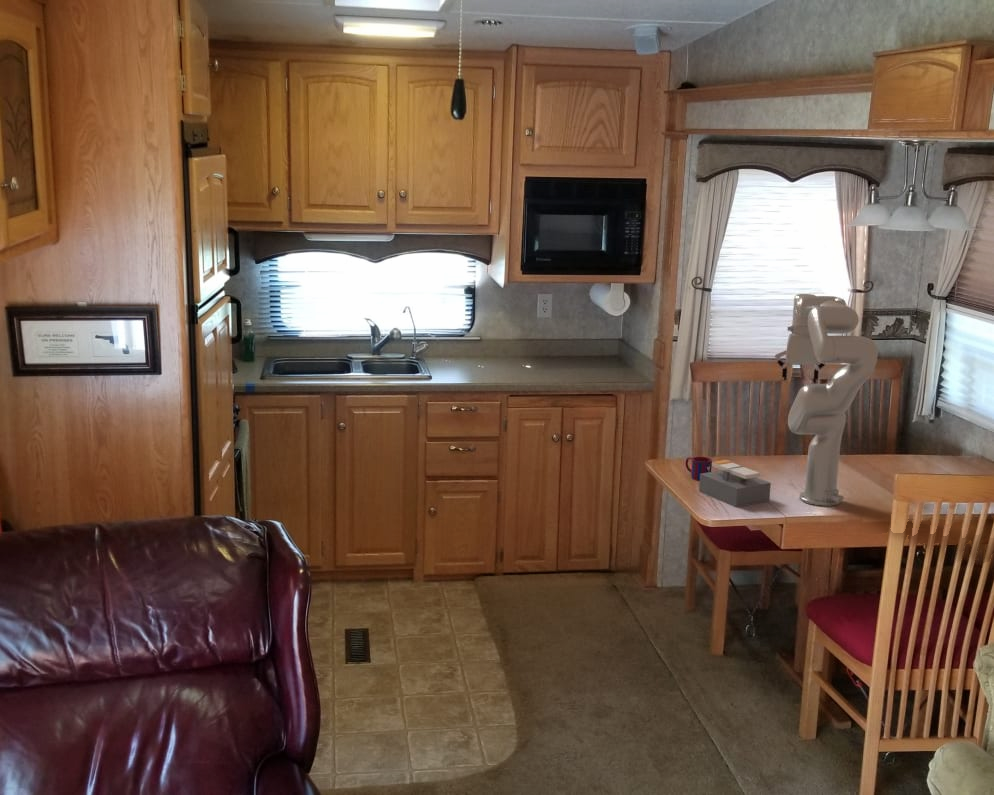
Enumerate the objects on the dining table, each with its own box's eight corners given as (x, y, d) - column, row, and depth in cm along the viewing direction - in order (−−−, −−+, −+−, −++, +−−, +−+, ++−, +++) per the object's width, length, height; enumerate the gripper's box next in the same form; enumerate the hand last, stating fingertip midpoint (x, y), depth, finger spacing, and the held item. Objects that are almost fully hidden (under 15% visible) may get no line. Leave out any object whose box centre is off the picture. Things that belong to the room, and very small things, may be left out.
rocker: (759, 477, 327) (759, 472, 326) (745, 479, 324) (745, 474, 323) (726, 464, 340) (726, 459, 340) (711, 466, 337) (712, 461, 337)
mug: (701, 482, 348) (702, 463, 347) (680, 474, 356) (681, 456, 355) (714, 479, 352) (716, 460, 350) (694, 472, 360) (695, 453, 358)
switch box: (769, 500, 329) (771, 473, 327) (735, 507, 323) (737, 479, 321) (731, 485, 345) (733, 459, 343) (699, 491, 338) (700, 465, 336)
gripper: (776, 330, 344) (773, 380, 348) (830, 333, 339) (826, 384, 343) (777, 328, 351) (774, 377, 355) (830, 330, 346) (826, 380, 350)
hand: (799, 380), depth 349 cm, fingers open, 9 cm apart
